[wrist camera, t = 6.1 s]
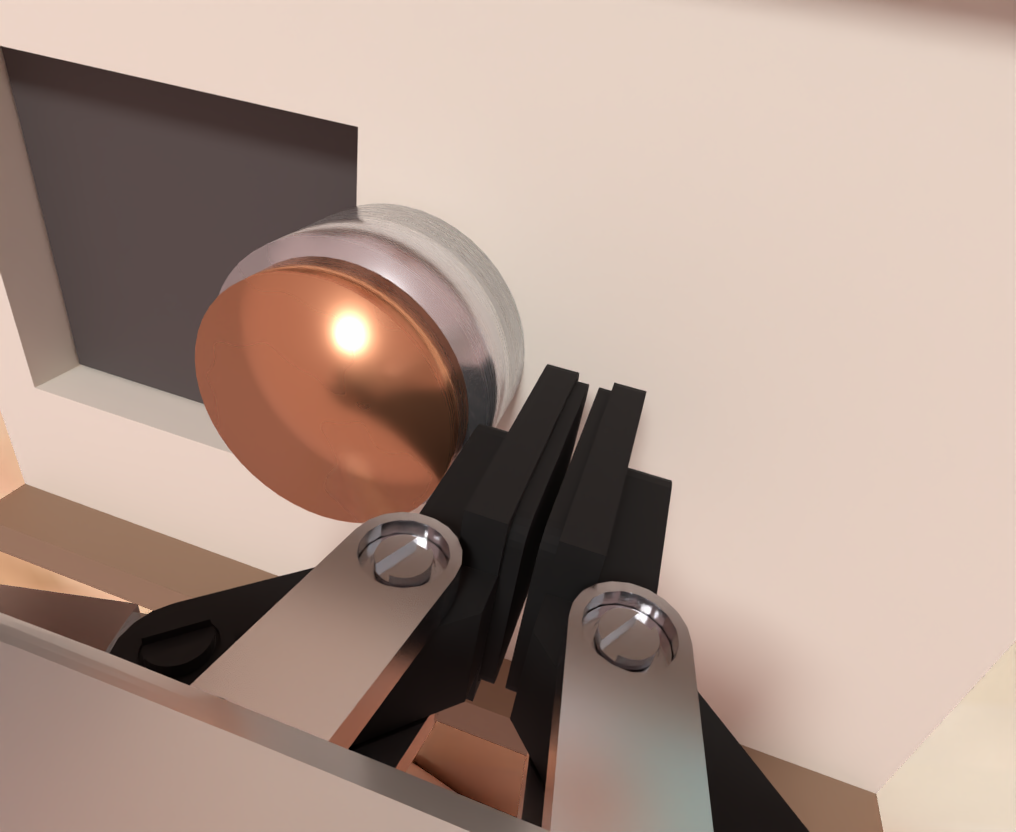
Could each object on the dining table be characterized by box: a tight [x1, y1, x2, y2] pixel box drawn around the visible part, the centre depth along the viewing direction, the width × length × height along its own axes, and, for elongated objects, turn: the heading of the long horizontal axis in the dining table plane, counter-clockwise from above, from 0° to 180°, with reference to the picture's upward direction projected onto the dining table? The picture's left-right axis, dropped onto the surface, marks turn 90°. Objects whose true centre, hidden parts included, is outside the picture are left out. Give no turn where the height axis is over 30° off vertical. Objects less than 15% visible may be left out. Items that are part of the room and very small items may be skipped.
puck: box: [195, 203, 525, 523], centre depth 11 cm, size 5×5×3 cm
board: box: [0, 0, 1016, 832], centre depth 13 cm, size 24×18×3 cm
